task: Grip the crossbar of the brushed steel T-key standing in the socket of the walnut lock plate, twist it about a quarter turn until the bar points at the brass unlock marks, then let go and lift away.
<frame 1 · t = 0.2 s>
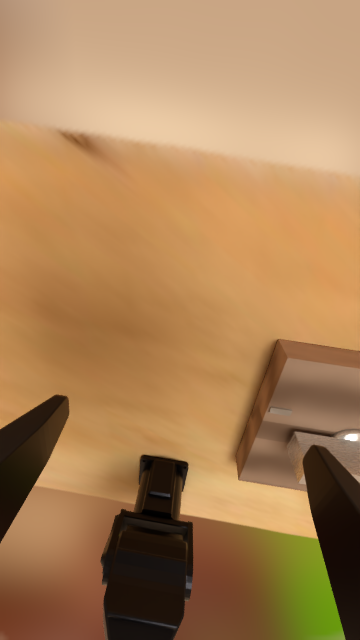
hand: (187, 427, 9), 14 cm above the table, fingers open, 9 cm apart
lock plate: (334, 419, 27), on the table
t key: (280, 410, 27), resting in lock plate
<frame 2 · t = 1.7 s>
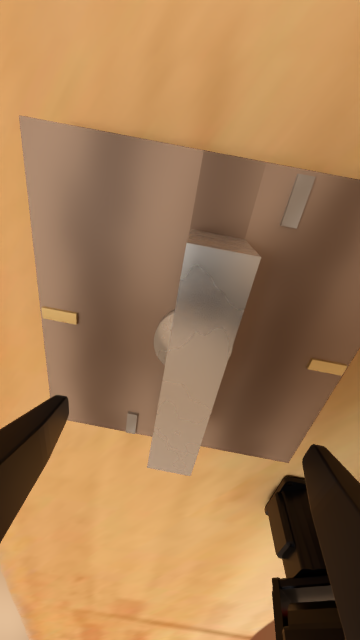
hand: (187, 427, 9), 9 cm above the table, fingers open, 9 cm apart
lock plate: (194, 317, 17), on the table
t key: (180, 382, 20), resting in lock plate
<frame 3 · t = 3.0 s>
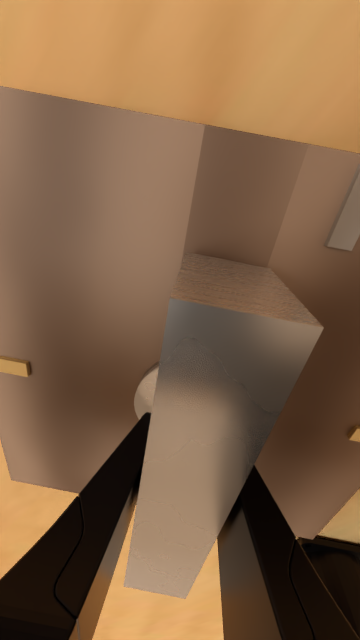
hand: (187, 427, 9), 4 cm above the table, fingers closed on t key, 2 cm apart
lock plate: (192, 356, 13), on the table
t key: (175, 431, 16), resting in lock plate, touching gripper
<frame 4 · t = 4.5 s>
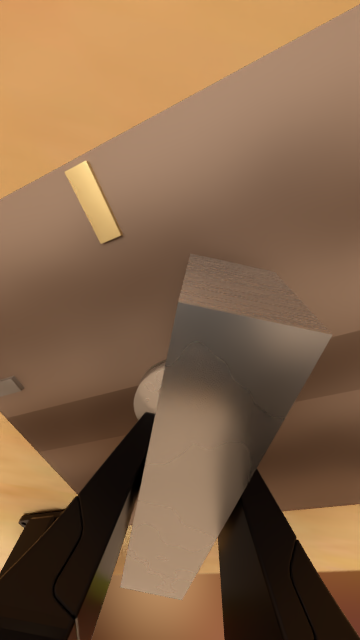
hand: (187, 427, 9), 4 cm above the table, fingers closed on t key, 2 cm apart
lock plate: (193, 356, 13), on the table
t key: (172, 431, 16), resting in lock plate, touching gripper
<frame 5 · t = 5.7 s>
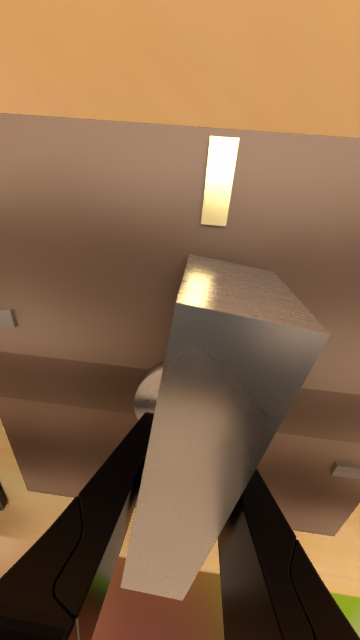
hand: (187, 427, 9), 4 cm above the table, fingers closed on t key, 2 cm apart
lock plate: (193, 356, 13), on the table
t key: (173, 432, 16), resting in lock plate, touching gripper
when the fingers open (4 cm above the table, at t = 6.0 s): t key stays where it is, resting on lock plate.
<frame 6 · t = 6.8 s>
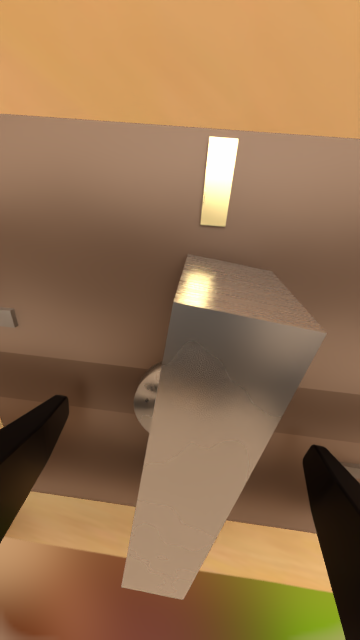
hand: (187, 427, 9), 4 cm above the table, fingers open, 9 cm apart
lock plate: (193, 356, 13), on the table
t key: (173, 431, 16), resting on lock plate
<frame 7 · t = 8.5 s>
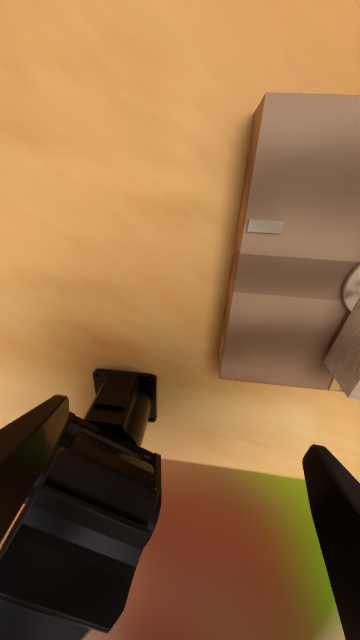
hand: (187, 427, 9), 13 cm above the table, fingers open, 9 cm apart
lock plate: (354, 271, 18), on the table
t key: (319, 338, 21), resting on lock plate
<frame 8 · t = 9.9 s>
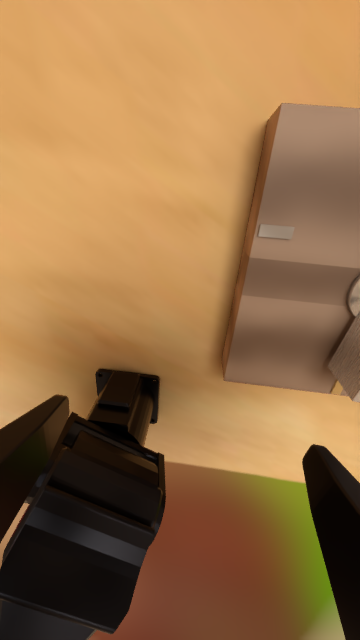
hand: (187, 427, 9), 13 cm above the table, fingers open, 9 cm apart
lock plate: (358, 277, 19), on the table
t key: (321, 343, 21), resting on lock plate
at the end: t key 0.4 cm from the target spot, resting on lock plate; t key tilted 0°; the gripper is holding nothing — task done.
